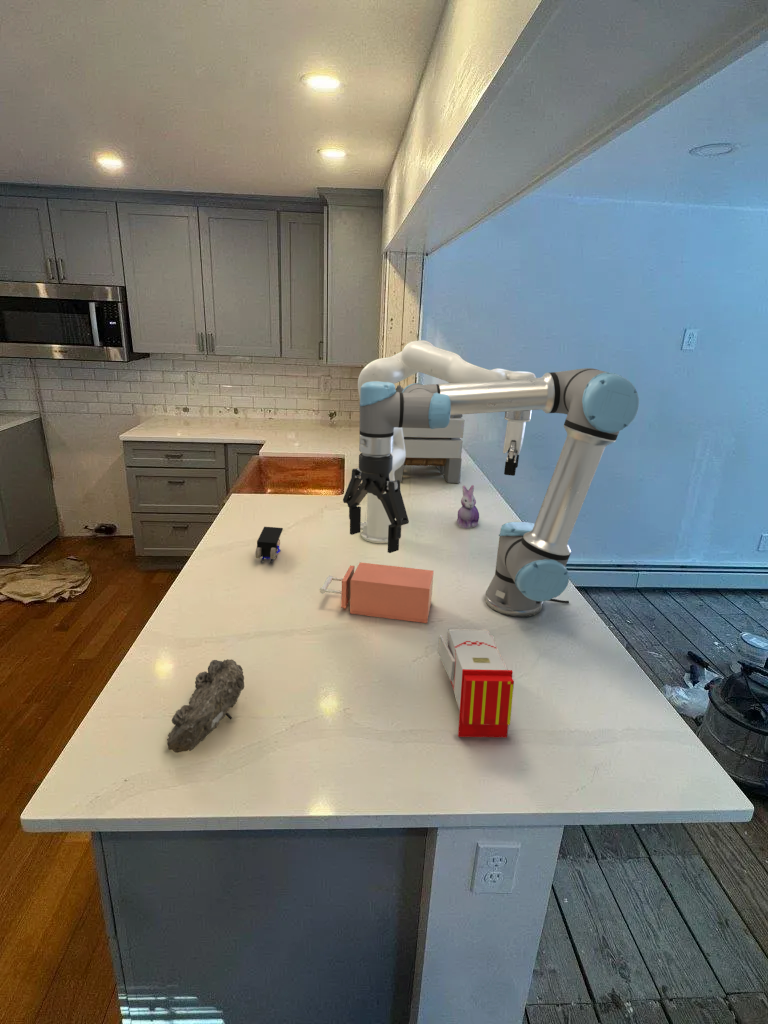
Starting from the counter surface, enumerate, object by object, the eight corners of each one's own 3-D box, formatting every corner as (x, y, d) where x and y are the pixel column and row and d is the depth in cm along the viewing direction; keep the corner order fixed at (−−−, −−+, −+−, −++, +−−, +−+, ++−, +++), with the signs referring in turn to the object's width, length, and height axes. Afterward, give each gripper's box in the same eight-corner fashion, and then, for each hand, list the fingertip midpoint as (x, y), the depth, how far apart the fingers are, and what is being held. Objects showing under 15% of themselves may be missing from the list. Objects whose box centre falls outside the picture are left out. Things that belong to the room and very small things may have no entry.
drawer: (318, 605, 148) (318, 578, 146) (328, 588, 157) (328, 562, 154) (413, 617, 145) (415, 589, 142) (417, 599, 153) (419, 573, 151)
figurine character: (277, 570, 171) (284, 545, 185) (276, 548, 168) (283, 525, 181) (254, 569, 171) (263, 545, 184) (253, 548, 168) (262, 524, 181)
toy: (488, 613, 130) (523, 677, 101) (484, 667, 133) (517, 744, 104) (435, 612, 130) (455, 676, 101) (432, 666, 133) (451, 743, 103)
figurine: (465, 530, 205) (468, 491, 200) (449, 521, 213) (452, 483, 208) (486, 527, 209) (490, 488, 204) (469, 518, 218) (473, 480, 213)
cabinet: (349, 613, 147) (350, 579, 143) (358, 594, 157) (359, 562, 153) (427, 623, 144) (429, 588, 140) (431, 603, 154) (433, 570, 150)
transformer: (382, 463, 289) (386, 382, 275) (445, 464, 293) (451, 384, 279) (390, 482, 257) (394, 392, 243) (460, 483, 261) (468, 394, 247)
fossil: (192, 660, 117) (244, 628, 112) (224, 691, 120) (276, 661, 115) (142, 746, 98) (202, 712, 93) (182, 779, 101) (242, 748, 96)
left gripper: (507, 409, 175) (501, 462, 181) (502, 418, 160) (495, 476, 166) (532, 411, 173) (525, 465, 179) (529, 421, 158) (521, 479, 164)
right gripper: (328, 444, 132) (328, 529, 139) (402, 468, 114) (398, 564, 122) (353, 440, 136) (352, 523, 144) (428, 462, 119) (422, 555, 126)
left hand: (510, 470), depth 172 cm, fingers open, 9 cm apart
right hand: (373, 542), depth 133 cm, fingers open, 13 cm apart
